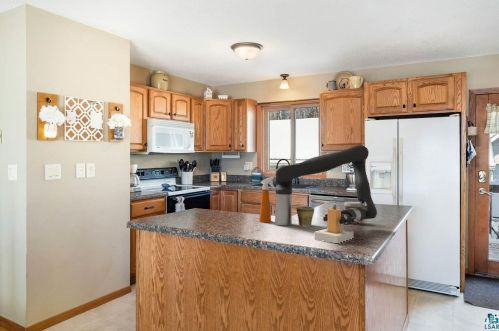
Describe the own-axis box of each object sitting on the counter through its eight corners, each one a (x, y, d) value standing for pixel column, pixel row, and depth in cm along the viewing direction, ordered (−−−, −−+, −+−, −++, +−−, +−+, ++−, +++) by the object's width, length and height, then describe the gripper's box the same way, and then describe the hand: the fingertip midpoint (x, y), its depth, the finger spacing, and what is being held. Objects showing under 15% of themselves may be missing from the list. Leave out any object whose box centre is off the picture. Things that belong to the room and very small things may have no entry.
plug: (335, 240, 160) (336, 206, 159) (327, 238, 163) (327, 204, 162) (340, 239, 163) (341, 205, 162) (332, 237, 166) (332, 204, 165)
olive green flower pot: (314, 228, 186) (314, 209, 186) (295, 227, 188) (295, 208, 188) (314, 223, 199) (314, 205, 199) (297, 222, 201) (297, 205, 201)
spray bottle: (272, 223, 197) (273, 177, 196) (256, 221, 203) (257, 176, 202) (278, 221, 203) (279, 176, 202) (263, 219, 209) (263, 175, 208)
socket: (337, 244, 153) (337, 236, 153) (314, 239, 162) (314, 231, 162) (353, 238, 163) (353, 231, 163) (331, 234, 172) (331, 227, 172)
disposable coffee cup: (353, 225, 194) (354, 204, 193) (340, 222, 201) (340, 202, 201) (364, 223, 199) (364, 202, 199) (350, 220, 207) (351, 200, 206)
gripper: (337, 206, 177) (319, 210, 166) (363, 210, 167) (345, 214, 156) (337, 221, 177) (318, 226, 166) (363, 225, 167) (345, 231, 156)
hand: (331, 220), depth 161 cm, fingers open, 8 cm apart
